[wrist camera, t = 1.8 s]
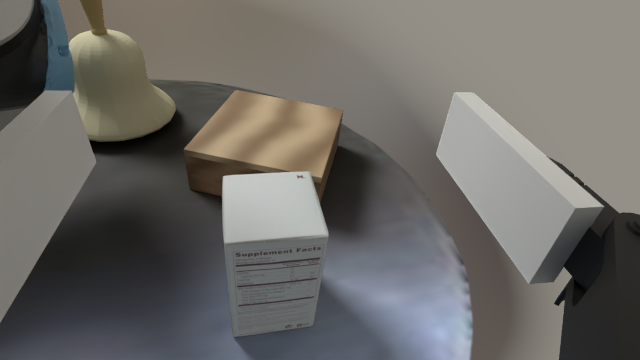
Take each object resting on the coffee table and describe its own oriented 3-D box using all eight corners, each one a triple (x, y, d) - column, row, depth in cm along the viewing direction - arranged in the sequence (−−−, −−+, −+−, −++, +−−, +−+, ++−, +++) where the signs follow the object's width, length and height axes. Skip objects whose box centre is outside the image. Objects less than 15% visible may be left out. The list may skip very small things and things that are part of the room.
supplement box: (229, 270, 38) (221, 172, 30) (302, 263, 39) (313, 168, 31) (230, 340, 32) (220, 243, 24) (315, 329, 34) (332, 234, 26)
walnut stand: (189, 189, 46) (183, 149, 42) (237, 125, 59) (235, 89, 55) (316, 216, 45) (321, 177, 41) (337, 145, 57) (343, 110, 53)
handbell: (198, 117, 59) (176, -72, 43) (116, 164, 48) (47, -64, 33) (128, 88, 64) (84, -91, 48) (39, 126, 53) (-55, -90, 37)
